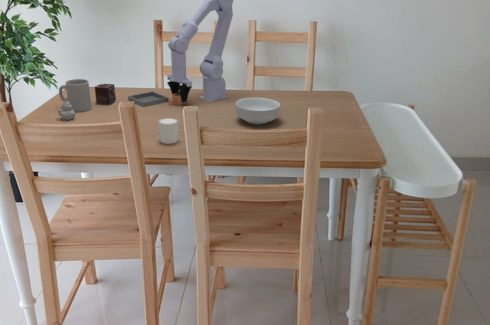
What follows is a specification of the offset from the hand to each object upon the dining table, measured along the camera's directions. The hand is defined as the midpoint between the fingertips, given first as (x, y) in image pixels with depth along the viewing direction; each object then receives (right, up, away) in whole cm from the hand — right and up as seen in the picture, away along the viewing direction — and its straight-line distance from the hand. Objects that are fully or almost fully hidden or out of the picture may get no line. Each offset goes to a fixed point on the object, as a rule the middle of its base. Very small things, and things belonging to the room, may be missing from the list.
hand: (180, 100), depth 197 cm
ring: (-1, -1, 0) cm, 2 cm away
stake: (0, -1, +1) cm, 2 cm away
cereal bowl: (+32, -10, -17) cm, 37 cm away
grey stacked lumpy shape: (-39, -10, -20) cm, 45 cm away
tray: (-13, -1, +2) cm, 14 cm away
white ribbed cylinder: (+1, -19, -37) cm, 42 cm away
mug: (-40, -5, -8) cm, 41 cm away
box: (-30, -1, 0) cm, 31 cm away
